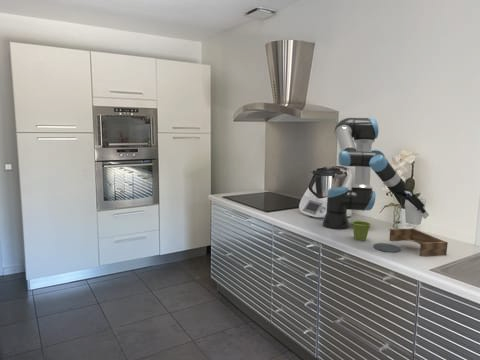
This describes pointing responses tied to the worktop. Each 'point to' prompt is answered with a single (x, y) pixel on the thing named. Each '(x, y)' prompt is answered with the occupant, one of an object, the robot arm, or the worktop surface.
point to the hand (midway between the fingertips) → (419, 214)
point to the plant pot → (360, 230)
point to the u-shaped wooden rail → (420, 241)
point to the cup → (413, 213)
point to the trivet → (386, 247)
